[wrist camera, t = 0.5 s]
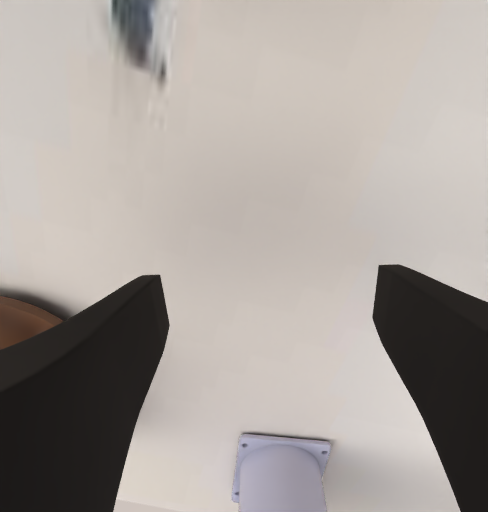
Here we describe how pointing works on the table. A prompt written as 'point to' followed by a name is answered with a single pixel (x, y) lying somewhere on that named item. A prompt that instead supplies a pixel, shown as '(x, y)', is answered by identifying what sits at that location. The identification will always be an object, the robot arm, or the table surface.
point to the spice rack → (22, 321)
